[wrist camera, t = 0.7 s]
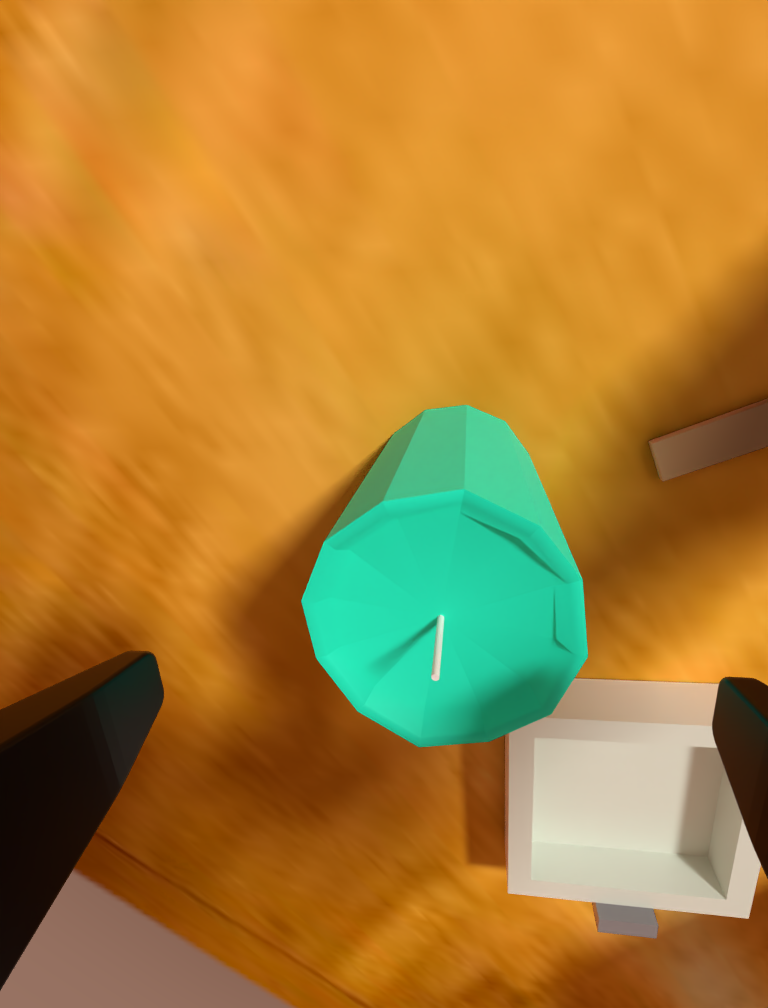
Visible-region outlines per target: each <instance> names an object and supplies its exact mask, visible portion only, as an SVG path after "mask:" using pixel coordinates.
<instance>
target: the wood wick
mask: <svg viewBox="0 0 768 1008" xmlns="http://www.w3.org/2000/svg"><path fill="white" fill-rule="evenodd" d="M648 443H649V446H650V449H651V452H652V456H653V459H654V462H655V465H656V469H657V472H658V475H659V478H660V479H661V480H662V481H666V480H669V479H672V478H675V477H678V476H681V475H684V474H687V473H690V472H693V471H696V470H699V469H702V468H705V467H708V466H711V465H714V464H717V463H720V462H723V461H726V460H729V459H732V458H735V457H738V456H741V455H744V454H747V453H750V452H753V451H756V450H759V449H762V448H765V447H768V399H765V400H762V401H759V402H756V403H754V404H751V405H748V406H745V407H742V408H740V409H737V410H734V411H731V412H728V413H726V414H723V415H720V416H717V417H714V418H712V419H709V420H706V421H703V422H700V423H698V424H695V425H692V426H689V427H686V428H684V429H681V430H678V431H675V432H672V433H670V434H667V435H664V436H661V437H658V438H656V439H653V440H650V441H648Z"/></svg>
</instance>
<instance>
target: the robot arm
mask: <svg viewBox="0 0 768 1008" xmlns="http://www.w3.org/2000/svg"><path fill="white" fill-rule="evenodd" d="M163 698H164V689H163V685H162V681H161V676H160V672H159V668H158V664H157V660H156V657H155V656H154V654H153V653H151V652H149V651H127V652H125V653H122V654H120V655H118V656H116V657H114V658H112V659H109V660H107V661H105V662H103V663H101V664H99V665H96V666H94V667H92V668H90V669H88V670H86V671H83V672H81V673H79V674H77V675H75V676H73V677H71V678H68V679H66V680H64V681H62V682H60V683H58V684H55V685H53V686H51V687H49V688H47V689H45V690H42V691H40V692H38V693H36V694H34V695H32V696H29V697H27V698H25V699H23V700H21V701H19V702H16V703H14V704H12V705H10V706H8V707H6V708H3V709H1V710H0V990H1V989H2V987H3V985H4V984H5V982H6V980H7V979H8V977H9V975H10V974H11V972H12V970H13V969H14V967H15V965H16V964H17V962H18V960H19V959H20V957H21V955H22V954H23V952H24V950H25V949H26V947H27V945H28V943H29V942H30V940H31V939H32V937H33V935H34V934H35V932H36V930H37V929H38V927H39V925H40V923H41V922H42V920H43V918H44V917H45V915H46V913H47V912H48V910H49V909H50V907H51V905H52V904H53V902H54V900H55V899H56V897H57V895H58V894H59V892H60V890H61V888H62V887H63V885H64V883H65V882H66V880H67V879H68V877H69V875H70V874H71V872H72V870H73V869H74V867H75V865H76V864H77V862H78V860H79V859H80V857H81V855H82V854H83V852H84V850H85V849H86V847H87V845H88V844H89V842H90V840H91V839H92V837H93V835H94V834H95V832H96V830H97V829H98V827H99V825H100V824H101V822H102V820H103V819H104V817H105V815H106V814H107V812H108V810H109V809H110V807H111V805H112V804H113V802H114V800H115V798H116V797H117V795H118V793H119V791H120V790H121V788H122V786H123V784H124V782H125V780H126V778H127V776H128V774H129V772H130V770H131V768H132V766H133V764H134V762H135V760H136V758H137V756H138V754H139V751H140V749H141V747H142V745H143V743H144V741H145V739H146V737H147V735H148V733H149V731H150V729H151V727H152V725H153V722H154V720H155V718H156V716H157V714H158V712H159V710H160V708H161V706H162V703H163ZM712 732H713V737H714V741H715V744H716V747H717V749H718V752H719V755H720V758H721V760H722V763H723V766H724V769H725V772H726V774H727V777H728V780H729V783H730V785H731V788H732V791H733V794H734V797H735V799H736V802H737V805H738V808H739V810H740V813H741V816H742V819H743V822H744V824H745V827H746V830H747V832H748V835H749V838H750V840H751V843H752V845H753V848H754V850H755V852H756V855H757V857H758V859H759V861H760V863H761V866H762V868H763V870H764V872H765V874H766V876H767V878H768V686H767V685H766V684H764V683H762V682H760V681H759V680H757V679H754V678H742V677H725V678H723V679H722V680H721V681H720V683H719V686H718V691H717V697H716V703H715V708H714V714H713V720H712Z"/></svg>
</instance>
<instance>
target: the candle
mask: <svg viewBox="0 0 768 1008" xmlns="http://www.w3.org/2000/svg"><path fill="white" fill-rule="evenodd" d="M301 602H302V606H303V610H304V614H305V618H306V621H307V625H308V629H309V633H310V637H311V641H312V644H313V648H314V652H315V656H316V659H317V660H318V661H319V663H320V664H321V665H322V667H323V668H324V669H325V670H326V672H327V673H328V674H329V676H330V677H331V678H332V679H333V681H334V682H335V683H336V685H337V686H338V687H339V688H340V690H341V691H342V692H343V693H344V695H345V696H346V697H347V699H348V700H349V701H350V702H351V704H352V705H353V706H354V708H355V709H356V710H357V711H358V712H359V713H361V714H363V715H364V716H366V717H368V718H370V719H371V720H373V721H375V722H376V723H378V724H380V725H382V726H383V727H385V728H387V729H388V730H390V731H392V732H394V733H395V734H397V735H399V736H400V737H402V738H404V739H406V740H407V741H409V742H411V743H413V744H414V745H416V746H418V747H429V746H442V745H454V744H467V743H479V742H490V741H492V740H494V739H497V738H499V737H501V736H503V735H506V734H508V733H510V732H513V731H515V730H517V729H519V728H522V727H524V726H526V725H528V724H531V723H533V722H535V721H538V720H540V719H542V718H544V717H547V716H549V715H551V714H552V713H553V711H554V710H555V708H556V706H557V705H558V703H559V702H560V700H561V698H562V697H563V695H564V694H565V692H566V691H567V689H568V687H569V686H570V684H571V683H572V681H573V680H574V678H575V676H576V675H577V673H578V672H579V670H580V669H581V667H582V665H583V664H584V662H585V661H586V659H587V658H588V649H587V635H586V620H585V606H584V592H583V579H582V577H581V575H580V572H579V570H578V568H577V565H576V563H575V561H574V558H573V556H572V554H571V551H570V549H569V547H568V544H567V542H566V540H565V537H564V535H563V533H562V530H561V528H560V526H559V523H558V521H557V519H556V516H555V514H554V512H553V509H552V507H551V505H550V502H549V500H548V498H547V495H546V493H545V491H544V488H543V486H542V484H541V481H540V479H539V477H538V474H537V472H536V470H535V467H534V465H533V463H532V460H531V458H530V456H529V454H528V452H527V451H526V449H525V448H524V447H523V445H522V444H521V442H520V441H519V440H518V438H517V437H516V435H515V434H514V433H513V431H512V430H511V429H510V427H509V426H508V424H507V423H506V422H505V421H503V420H501V419H499V418H496V417H494V416H492V415H489V414H487V413H485V412H482V411H480V410H478V409H475V408H473V407H471V406H468V405H462V406H453V407H445V408H437V409H428V410H425V411H423V412H422V413H421V414H419V415H418V416H417V417H415V418H414V419H413V420H411V421H410V422H409V423H407V424H406V425H405V426H403V427H402V428H401V429H399V430H398V431H397V432H395V433H394V434H393V435H392V437H391V438H390V440H389V441H388V443H387V444H386V446H385V448H384V449H383V451H382V452H381V454H380V455H379V457H378V458H377V460H376V462H375V463H374V465H373V466H372V468H371V469H370V471H369V472H368V474H367V476H366V477H365V479H364V480H363V482H362V483H361V485H360V486H359V488H358V490H357V491H356V493H355V494H354V496H353V497H352V499H351V500H350V502H349V504H348V505H347V507H346V508H345V510H344V511H343V513H342V514H341V516H340V518H339V519H338V521H337V522H336V524H335V525H334V527H333V528H332V530H331V532H330V533H329V535H328V536H327V538H326V539H325V541H324V543H323V546H322V548H321V551H320V553H319V556H318V559H317V561H316V564H315V566H314V569H313V571H312V574H311V577H310V579H309V582H308V584H307V587H306V590H305V592H304V595H303V597H302V600H301Z"/></svg>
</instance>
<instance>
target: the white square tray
mask: <svg viewBox="0 0 768 1008" xmlns="http://www.w3.org/2000/svg"><path fill="white" fill-rule="evenodd" d="M718 686H719V684H710V683H683V682H657V681H630V680H604V679H577V678H574V680H573V681H572V683H571V684H570V686H569V687H568V689H567V691H566V692H565V694H564V695H563V697H562V698H561V700H560V702H559V703H558V705H557V706H556V708H555V710H554V711H553V713H552V714H551V715H549V716H547V717H544V718H542V719H540V720H538V721H535V722H533V723H531V724H528V725H526V726H524V727H522V728H519V729H517V730H515V731H513V732H510V733H508V734H506V735H505V855H506V871H507V886H508V893H511V894H520V895H530V896H539V897H548V898H558V899H567V900H577V901H586V902H592V906H593V911H594V916H595V921H596V926H597V930H598V932H604V933H613V934H622V935H631V936H639V937H648V938H657V932H658V923H657V920H656V917H655V913H654V910H653V909H662V910H671V911H681V912H690V913H700V914H709V915H719V916H728V917H737V918H747V919H749V915H750V911H751V906H752V902H753V897H754V893H755V888H756V884H757V879H758V875H759V871H760V866H761V863H760V861H759V859H758V857H757V855H756V852H755V850H754V848H753V845H752V843H751V840H750V838H749V835H748V832H747V830H746V827H745V824H744V822H743V819H742V816H741V813H740V810H739V808H738V805H737V802H736V799H735V797H734V794H733V791H732V788H731V785H730V783H729V780H728V777H727V774H726V772H725V769H724V766H723V763H722V760H721V758H720V755H719V752H718V749H717V747H716V744H715V741H714V737H713V732H712V720H713V714H714V708H715V703H716V697H717V691H718Z"/></svg>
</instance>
